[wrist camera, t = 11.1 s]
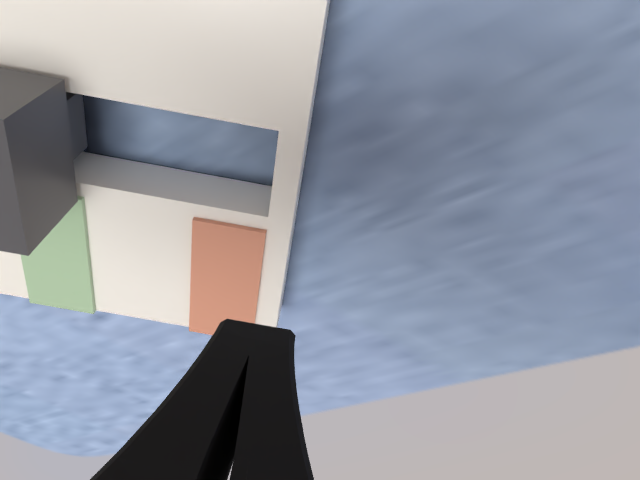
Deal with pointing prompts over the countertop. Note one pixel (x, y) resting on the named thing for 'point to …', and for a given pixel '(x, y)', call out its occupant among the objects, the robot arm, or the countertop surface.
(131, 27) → the switch board
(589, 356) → the countertop surface
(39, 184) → the switch handle
